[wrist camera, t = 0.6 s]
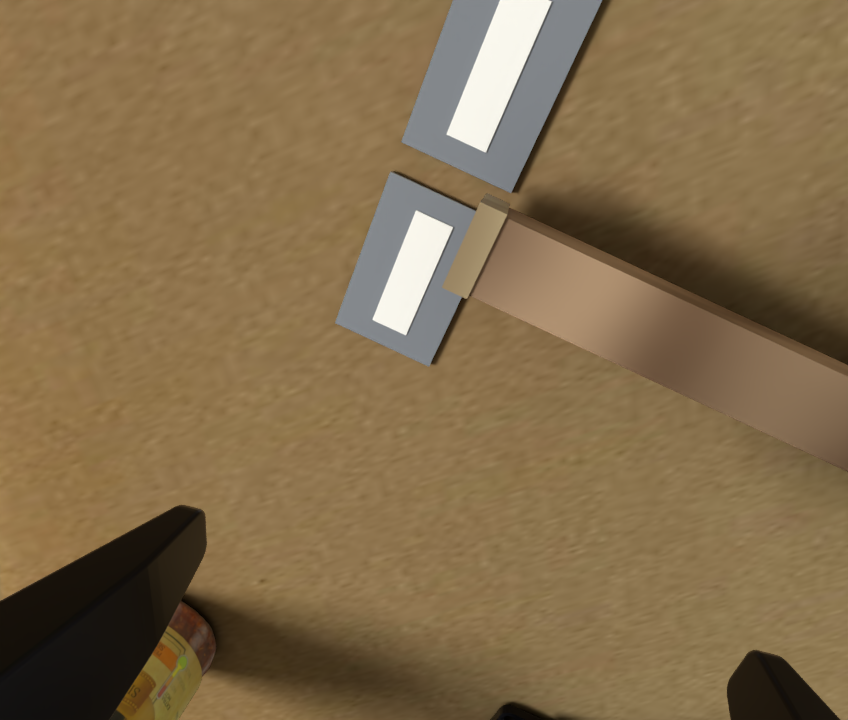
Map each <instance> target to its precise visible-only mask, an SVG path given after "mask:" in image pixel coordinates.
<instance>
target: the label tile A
mask: <svg viewBox="0 0 848 720" xmlns="http://www.w3.org/2000/svg"><path fill="white" fill-rule="evenodd" d="M475 213H476V210H474V209H472V208H470V207H468V206H465V205H463V204H461V203H459V202H457V201H455V200H453V199H450V198H448V197H446V196H444V195H442V194H440V193H437V192H435V191H433V190H431V189H429V188H427V187H425V186H422V185H420V184H418V183H416V182H414V181H412V180H410V179H407V178H405V177H403V176H401V175H399V174H397V173H394V172H392V171H391V172H390V174H389V177H388V180H387V182H386V185H385V188H384V190H383V193H382V196H381V199H380V201H379V204H378V207H377V210H376V212H375V215H374V218H373V221H372V223H371V226H370V229H369V231H368V234H367V237H366V240H365V242H364V245H363V248H362V251H361V253H360V256H359V259H358V262H357V264H356V267H355V270H354V272H353V275H352V278H351V281H350V283H349V286H348V289H347V292H346V294H345V297H344V300H343V303H342V305H341V308H340V311H339V313H338V316H337V319H336V322H335V323H336V324H338V325H341V326H343V327H345V328H347V329H349V330H351V331H354V332H356V333H358V334H360V335H362V336H364V337H366V338H369V339H371V340H373V341H375V342H377V343H379V344H381V345H384V346H386V347H388V348H390V349H392V350H394V351H396V352H399V353H401V354H403V355H405V356H407V357H409V358H412V359H414V360H416V361H418V362H420V363H422V364H424V365H427V366H430V364H431V361H432V359H433V357H434V355H435V353H436V351H437V349H438V347H439V344H440V342H441V340H442V338H443V336H444V334H445V332H446V330H447V328H448V325H449V323H450V321H451V319H452V317H453V315H454V313H455V311H456V309H457V306H458V304H459V302H460V300H461V298H462V297H461V296H459V295H457V294H455V293H452V292H450V291H448V290H446V289H444V288H442V286H443V284H444V281H445V279H446V277H447V275H448V272H449V270H450V268H451V266H452V264H453V261H454V259H455V257H456V255H457V252H458V250H459V248H460V246H461V244H462V241H463V239H464V237H465V235H466V232H467V230H468V228H469V226H470V224H471V221H472V219H473V217H474V215H475Z"/></svg>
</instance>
